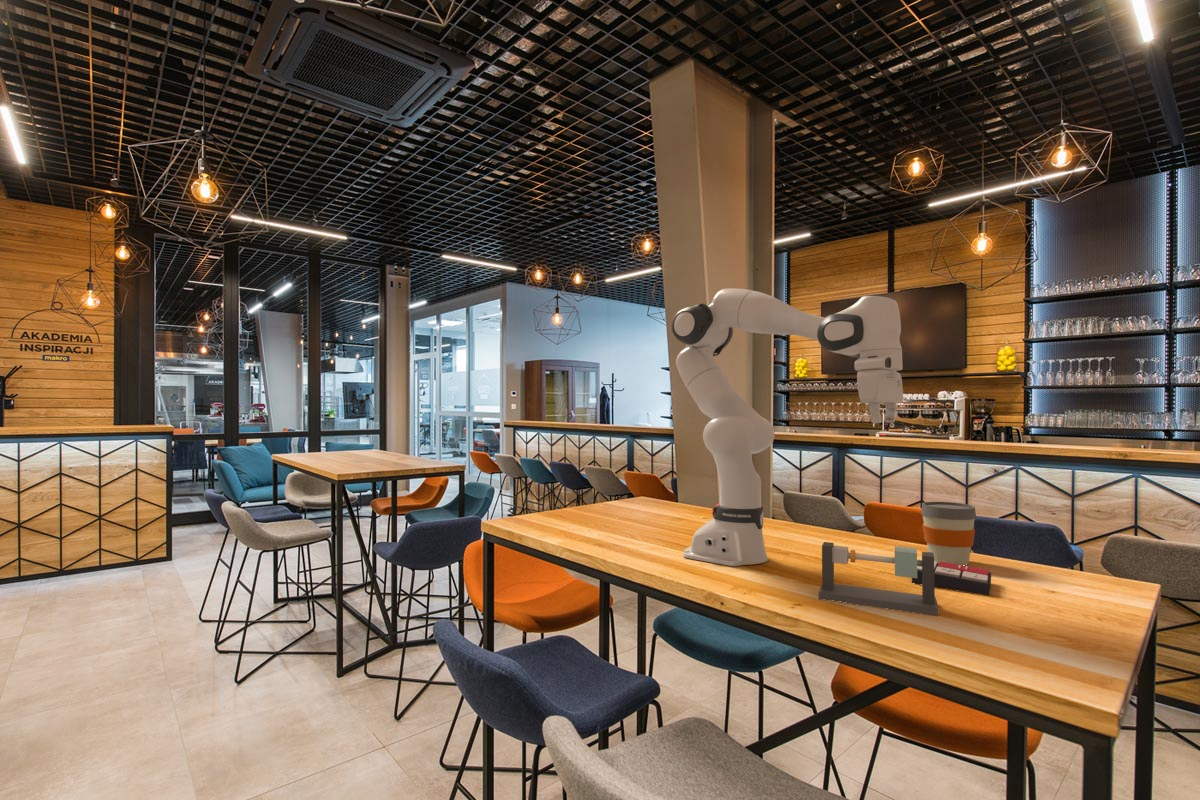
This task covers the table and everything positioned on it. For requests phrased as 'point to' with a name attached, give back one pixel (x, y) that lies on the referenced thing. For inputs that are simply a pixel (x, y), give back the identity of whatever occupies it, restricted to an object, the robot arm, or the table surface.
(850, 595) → the sliding block rail stand
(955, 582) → the calculator
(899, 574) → the sleeve
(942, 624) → the table surface
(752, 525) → the robot arm
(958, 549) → the reusable coffee cup
